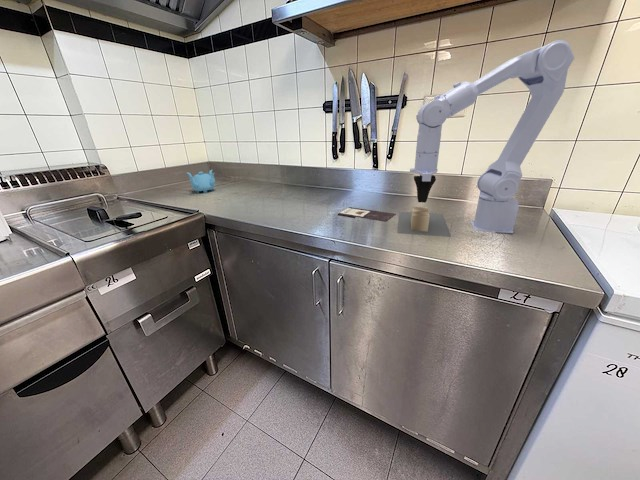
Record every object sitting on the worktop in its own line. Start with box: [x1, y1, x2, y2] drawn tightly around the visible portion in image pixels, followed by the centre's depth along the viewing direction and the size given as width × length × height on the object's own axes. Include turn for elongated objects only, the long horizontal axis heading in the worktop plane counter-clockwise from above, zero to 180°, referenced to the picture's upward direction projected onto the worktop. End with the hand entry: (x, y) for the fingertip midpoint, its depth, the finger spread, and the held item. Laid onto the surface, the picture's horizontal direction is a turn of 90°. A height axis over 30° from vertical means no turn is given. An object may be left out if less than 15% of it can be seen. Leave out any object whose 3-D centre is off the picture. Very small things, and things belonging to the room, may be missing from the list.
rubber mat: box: [397, 211, 452, 238], centre depth 83 cm, size 14×20×1 cm
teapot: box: [186, 169, 216, 194], centre depth 138 cm, size 13×13×10 cm
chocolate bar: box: [337, 206, 397, 223], centre depth 93 cm, size 9×1×18 cm
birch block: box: [411, 206, 430, 231], centre depth 80 cm, size 4×4×9 cm
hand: (421, 201), depth 76 cm, fingers closed
